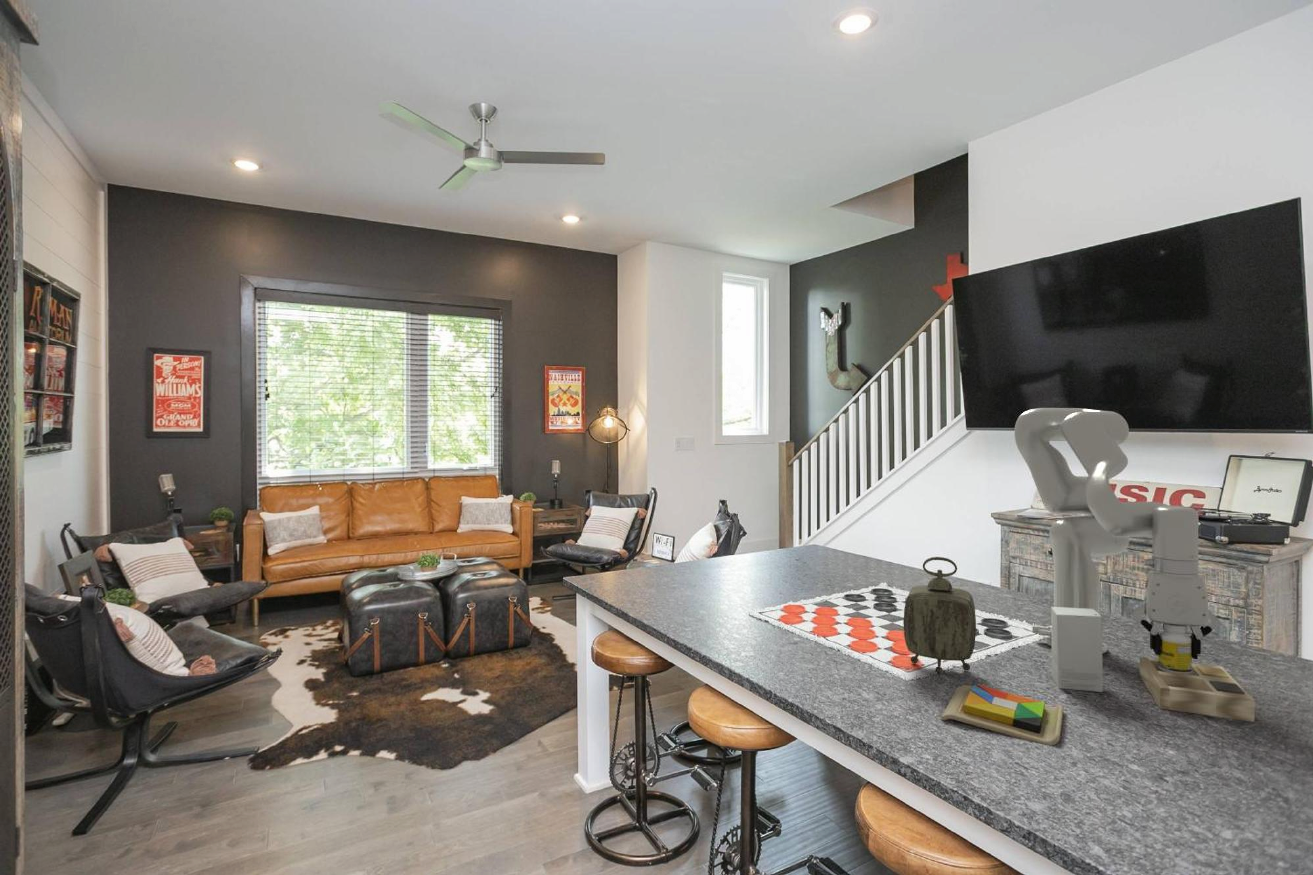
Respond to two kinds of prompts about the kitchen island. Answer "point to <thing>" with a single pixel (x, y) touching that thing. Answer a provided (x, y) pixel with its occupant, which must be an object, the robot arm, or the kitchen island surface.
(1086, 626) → the skincare box
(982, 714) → the wooden puzzle
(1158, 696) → the socket block
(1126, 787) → the kitchen island surface
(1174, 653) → the supplement bottle
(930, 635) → the tabletop clock
